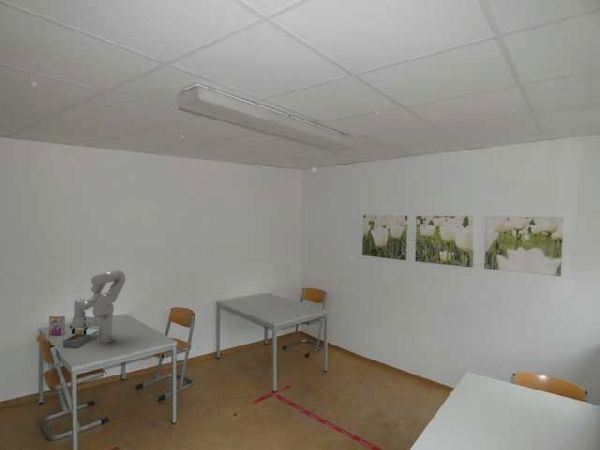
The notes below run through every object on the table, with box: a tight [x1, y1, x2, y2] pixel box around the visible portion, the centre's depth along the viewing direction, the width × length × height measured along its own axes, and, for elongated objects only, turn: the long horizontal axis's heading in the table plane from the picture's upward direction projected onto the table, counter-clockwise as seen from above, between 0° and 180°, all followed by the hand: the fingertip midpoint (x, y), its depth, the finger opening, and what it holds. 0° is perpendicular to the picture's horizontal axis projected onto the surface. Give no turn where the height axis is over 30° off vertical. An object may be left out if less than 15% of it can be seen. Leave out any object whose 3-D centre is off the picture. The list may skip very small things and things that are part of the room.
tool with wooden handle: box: [74, 328, 99, 336], centre depth 306 cm, size 21×10×7 cm, turn 177°
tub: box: [62, 334, 91, 349], centre depth 283 cm, size 16×11×6 cm
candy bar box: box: [48, 314, 66, 336], centre depth 305 cm, size 11×5×16 cm, turn 84°
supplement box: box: [85, 311, 100, 327], centre depth 336 cm, size 17×13×9 cm
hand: (79, 334), depth 298 cm, fingers open, 9 cm apart
